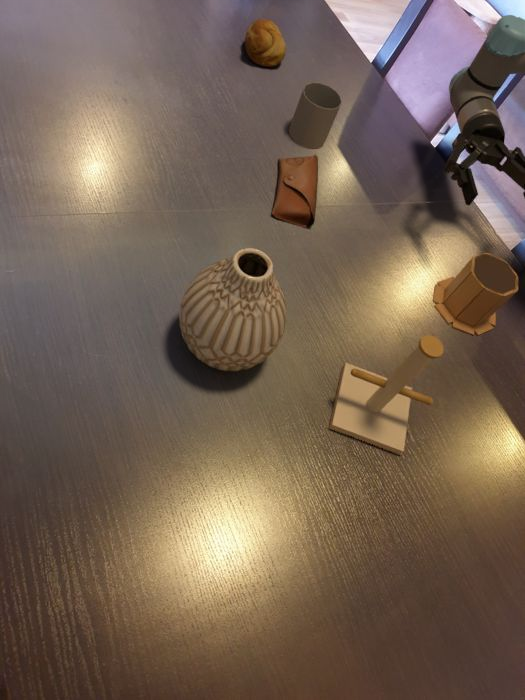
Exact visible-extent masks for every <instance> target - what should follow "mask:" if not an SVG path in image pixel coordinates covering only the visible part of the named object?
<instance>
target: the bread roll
mask: <svg viewBox="0 0 525 700" xmlns="http://www.w3.org/2000/svg"><path fill="white" fill-rule="evenodd" d="M244 44H245V45H244V47H245V51H246V54H247V56H248V57H249V59H250V60H251V61H252V62H254V63H255V64H257V65H259V66H263V67H267V68H268V67H270V68H271V67H275V66H277V65H279V64H280V63H281V62H282V61H283V60H284V59H285V56H286V52H287V45H286V41H285V39H284V36H283V35H282V32H281V30H280V28H279V27H278V25H276V24H275V23H274V21H272V20H269V19H257V20H255V21H254V22H253V23H251V24H250V25H249V27H248V29H247V31H246V34H245V38H244Z"/></svg>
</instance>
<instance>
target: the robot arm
mask: <svg viewBox="0 0 525 700" xmlns="http://www.w3.org/2000/svg"><path fill="white" fill-rule="evenodd" d="M518 74H519V75H521V74H525V19H524V18H522V17H521V16H520V17H519V16H516V15H513V14H506V15H504V16H502V17H500V18H499V19H498V21H497V22H496V23H495V25H494V27H493V28H492V29H491V31H490V32H489V33H488V34H487V36H486V38H485V40H484V42H483V43H482V45H481V47H480V48H479V50H478V52H476V55H475V57H474V59H473V60H472V62H471V63H470V65H469V66H466V67H463V68H462V69H460V70H459V71H458V72H457V73H455V74H454V75H453V76H452V77H451V79H450V82H449V85H448V93H449V99H450V100H449V102H450V104H451V106H452V109H453V111H454V112H453V113H454V115H455V119H456V123H457V126H458V129H459V133H458V134H457V136H456V137H455V139H454V140H453V141H452V143H451V149H452V151H451V152H450V154H449V157H448V159H447V162H446V163H445V166H444V168H443V171H444V172H445V173H446V174H450V173H452V174H451V176H450V179H451V180H452V181H455V182H457V186H458V188H461V192H462V196H463V199H464V203H465V206H470V205H472V203H473V202H474V200H475V199H476V198H477V197H478V195H479V192H478V188H477V185H476V182H475V181H476V180H475V179H474V175H473V171H472V168H471V166H473V165H474V164H475V163H476V162H479V163H480V164H481V165H488V166H491V167H494V168H495V169H496V170H497V171H498V172H499V173H500V172H503V173H504V174H505V175H507V176H508V177H509V178H510V179H511V180H512V181H513V182H515V183H516V185H518V186H519V187H520V188H521V189H522V190H523V192H522V195H523V197H524V199H525V155H524V153H523V151H522V148H520V147H518V146H516V147H515V148H514V149H509V147H508V146H507V145H506V143H505V139H506V132H505V129H504V126H503V124H502V120H501V117H500V114H499V111H498V109H497V106H496V103H495V100H494V99H495V97H496V95H497V93H498V92H499V91H500V89H501V88H502V86H503V85H504V84H505V82H506V81H507V79H509V77H510V76H511V75H518ZM463 150H465V151H466V152H467V153H468V156H467V157H466V158H464V159H463V160H462V161H461V162H460V163H458V160H459V158H460V156H461V154H462V151H463ZM505 158H506V159H505ZM504 159H505V160H504ZM503 160H504V162H503V163H502V161H503Z"/></svg>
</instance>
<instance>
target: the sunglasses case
mask: <svg viewBox="0 0 525 700" xmlns="http://www.w3.org/2000/svg"><path fill="white" fill-rule="evenodd" d="M318 181H319V158H318V156H317V155H316V154H314V155H310V156H297V157H287V158H282V157H279V158H278V177H277V186H276V193H275V200H274V202H273V203H274V204H273V208H272V211H271V215H272V216H273V217H274V218H275V219H278V220H280V221H283V222H285V223H288V224H292V225H295V226H298V227H301V228H305V229H306V228H310V227H313V225H314V224H315V222H316V211H317V210H316V209H317V199H318V197H317V196H318Z"/></svg>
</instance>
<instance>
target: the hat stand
mask: <svg viewBox="0 0 525 700" xmlns="http://www.w3.org/2000/svg"><path fill="white" fill-rule="evenodd" d="M444 350H445V347H444V345H443V342H442V341H441V340H440V339H439V338H438V337H436V336H434V335H431V334H426V335H423V336H422V337H421V338H420V339H419V341H418V346H417V347H416V348H415V349H414V350H413V351H412V352H411V353H410V354H409V355H408V356H407V358H405V359H404V360H403V362H402V363H401V364H400V365H399V366H398V367H396V369H395V370H394V371H393V372H392V373H391V374H390V375H389V377H384V376H382V375H380V374H377V373H375V372H372V371H369V370H367V369H364V368H362V367H359V366H356V365H353V364H351V363H348V362H345V363H344V364H343V365H342V367H341V371H340V376H339V381H338V385H337V390H336V394H335V398H334V403H333V408H332V411H331V412H332V413H331V416H330V421H329V426H328V429H329V430H333V431H334V430H335V432H336V433H337V432H338V433H340V434H342V433H343V435H345V434H346V435H345V436H348V435H349V436H348V437H350V436H352V437H351V438H353V437H354V438H353V439H356V440H358V439H359V441H361V440H362V442H364V441H365V442H364V443H366V442H367V443H366V444H369V443H370V444H369V445H372V444H373V445H372V446H374V445H375V447H377V446H378V448H380V449H382V448H383V449H382V450H385V451H388V452H390V451H391V452H390V453H393V454H396V455H399V456H400V455H401V454H403V453H404V452H405V444H406V438H407V437H406V436H407V430H408V422H409V414H410V406H411V399H412V400H414V401H416V402H419V403H421V404H424V405H427V406H431V405H433V403H434V399H433V398H432V397H431V396H428V395H426V394H423V393H421V392H417V391H415V390H413V387H411V386H408V384H409V383H411V381H412V380H413V379H415V378H416V377H417V376H418V375H419V374H420V373H421V371H423V370H424V369H425V368H426V366H428V364H430V363H431V362H432V361H433V360H436V359H439V358H441V356H442V355H443V354H444Z"/></svg>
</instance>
